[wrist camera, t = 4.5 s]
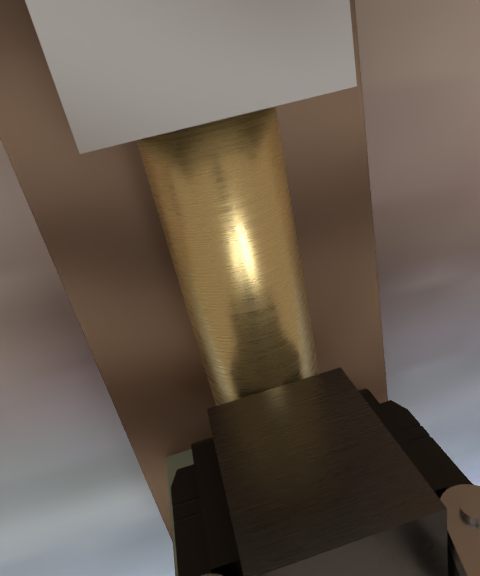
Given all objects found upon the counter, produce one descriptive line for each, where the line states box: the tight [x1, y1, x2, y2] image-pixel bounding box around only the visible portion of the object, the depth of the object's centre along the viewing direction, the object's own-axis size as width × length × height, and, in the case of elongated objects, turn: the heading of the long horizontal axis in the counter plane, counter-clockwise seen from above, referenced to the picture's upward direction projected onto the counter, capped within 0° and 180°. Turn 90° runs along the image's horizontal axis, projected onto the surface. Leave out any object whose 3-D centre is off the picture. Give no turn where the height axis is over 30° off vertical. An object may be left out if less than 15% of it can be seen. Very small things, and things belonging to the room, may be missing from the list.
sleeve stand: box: [0, 0, 388, 542], centre depth 12 cm, size 26×10×6 cm, turn 12°
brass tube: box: [136, 106, 448, 576], centre depth 10 cm, size 17×4×8 cm, turn 12°
